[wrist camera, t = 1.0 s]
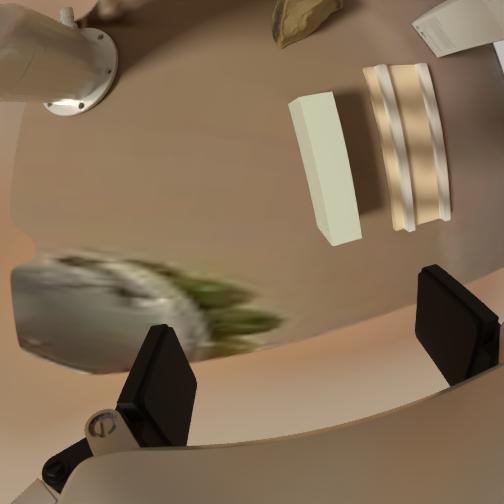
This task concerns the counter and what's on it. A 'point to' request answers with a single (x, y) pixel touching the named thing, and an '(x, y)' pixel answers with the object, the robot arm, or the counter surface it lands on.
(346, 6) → the counter surface
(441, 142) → the bottom track
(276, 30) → the rock
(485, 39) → the skincare box
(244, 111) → the counter surface
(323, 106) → the door panel
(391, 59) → the counter surface
